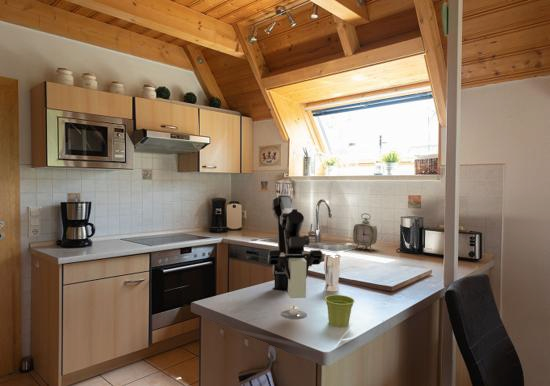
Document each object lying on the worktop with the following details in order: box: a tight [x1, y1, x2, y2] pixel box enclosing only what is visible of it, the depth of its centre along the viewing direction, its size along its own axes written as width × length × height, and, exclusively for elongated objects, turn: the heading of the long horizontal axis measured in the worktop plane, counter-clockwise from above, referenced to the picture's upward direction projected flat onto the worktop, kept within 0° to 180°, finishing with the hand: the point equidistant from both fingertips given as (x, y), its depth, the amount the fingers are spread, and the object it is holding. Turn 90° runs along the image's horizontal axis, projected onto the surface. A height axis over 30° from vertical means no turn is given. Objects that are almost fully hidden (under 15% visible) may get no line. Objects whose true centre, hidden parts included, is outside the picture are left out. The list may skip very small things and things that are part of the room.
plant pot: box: [324, 294, 355, 328], centre depth 122 cm, size 9×9×9 cm
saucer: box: [280, 309, 308, 320], centre depth 129 cm, size 9×9×1 cm
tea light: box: [288, 305, 299, 316], centre depth 129 cm, size 3×3×3 cm
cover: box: [287, 258, 307, 299], centre depth 129 cm, size 5×5×12 cm
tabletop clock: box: [352, 213, 378, 252], centre depth 262 cm, size 14×9×25 cm, turn 53°
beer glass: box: [323, 253, 342, 293], centre depth 162 cm, size 7×7×15 cm
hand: (297, 278), depth 128 cm, fingers closed on cover, 5 cm apart
